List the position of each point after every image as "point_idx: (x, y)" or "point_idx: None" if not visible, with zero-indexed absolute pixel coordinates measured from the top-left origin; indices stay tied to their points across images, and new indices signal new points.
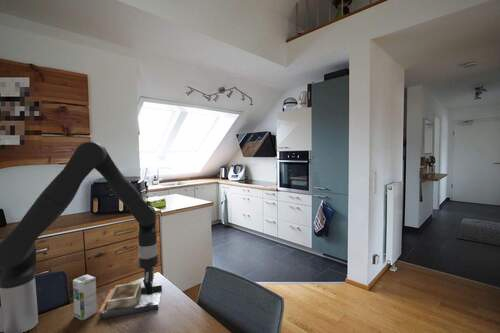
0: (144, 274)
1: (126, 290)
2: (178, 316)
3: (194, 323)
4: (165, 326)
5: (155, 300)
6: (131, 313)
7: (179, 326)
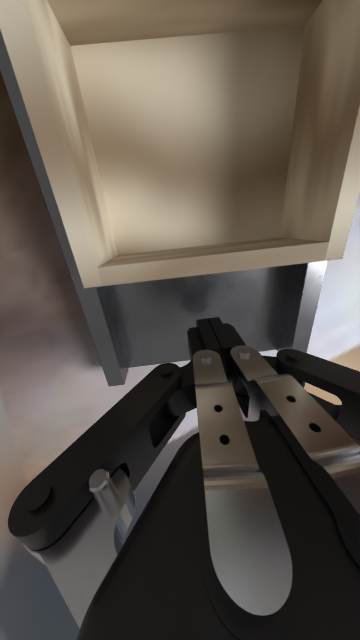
0: (208, 522)
1: (312, 118)
2: (76, 432)
3: None
4: (16, 409)
5: (184, 343)
6: None
7: (24, 442)
